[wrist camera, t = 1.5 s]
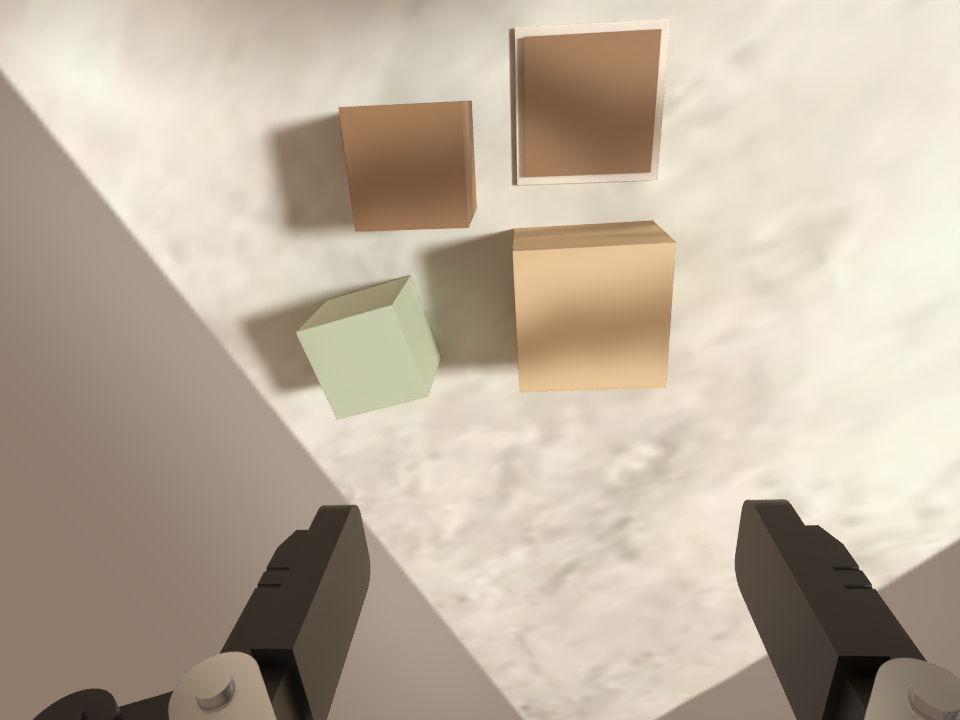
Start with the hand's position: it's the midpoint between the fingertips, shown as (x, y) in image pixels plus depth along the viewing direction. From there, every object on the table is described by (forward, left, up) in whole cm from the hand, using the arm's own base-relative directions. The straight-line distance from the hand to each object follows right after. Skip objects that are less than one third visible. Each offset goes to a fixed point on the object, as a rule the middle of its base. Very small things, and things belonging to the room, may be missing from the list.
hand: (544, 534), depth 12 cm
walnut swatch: (-8, +3, -20) cm, 22 cm away
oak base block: (+1, +3, -20) cm, 21 cm away
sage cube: (+3, -8, -20) cm, 22 cm away
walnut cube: (-6, -5, -20) cm, 22 cm away
